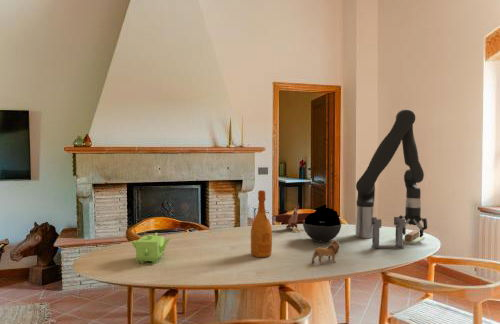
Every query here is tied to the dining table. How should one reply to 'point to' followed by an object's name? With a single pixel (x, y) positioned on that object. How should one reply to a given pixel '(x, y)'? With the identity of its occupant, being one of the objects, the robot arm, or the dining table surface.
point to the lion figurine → (327, 252)
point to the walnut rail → (411, 236)
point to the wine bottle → (261, 230)
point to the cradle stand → (399, 233)
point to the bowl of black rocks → (322, 224)
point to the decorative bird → (291, 218)
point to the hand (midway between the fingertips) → (412, 235)
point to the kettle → (150, 248)
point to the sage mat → (413, 240)
